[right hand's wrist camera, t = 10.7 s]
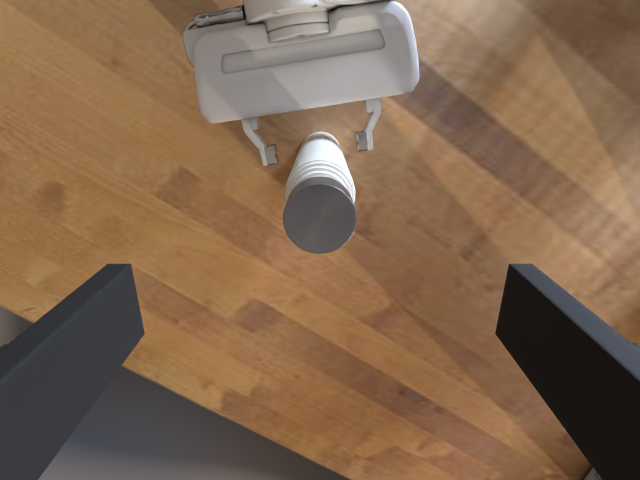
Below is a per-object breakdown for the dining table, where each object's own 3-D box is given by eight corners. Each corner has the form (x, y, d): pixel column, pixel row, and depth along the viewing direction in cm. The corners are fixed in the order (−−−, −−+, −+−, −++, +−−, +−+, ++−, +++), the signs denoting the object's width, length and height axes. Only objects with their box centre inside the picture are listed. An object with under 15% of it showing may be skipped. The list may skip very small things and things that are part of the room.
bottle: (345, 138, 43) (374, 187, 20) (334, 178, 45) (348, 265, 22) (305, 126, 43) (287, 164, 20) (295, 167, 44) (268, 246, 22)
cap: (362, 186, 22) (366, 194, 20) (342, 247, 23) (344, 261, 21) (295, 168, 22) (292, 175, 20) (279, 231, 23) (275, 244, 21)
